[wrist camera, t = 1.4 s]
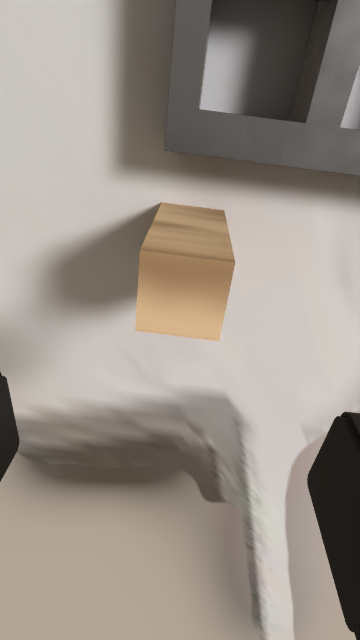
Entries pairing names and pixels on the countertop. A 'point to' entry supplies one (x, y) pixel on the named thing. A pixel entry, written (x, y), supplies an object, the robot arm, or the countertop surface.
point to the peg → (185, 273)
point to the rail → (263, 133)
